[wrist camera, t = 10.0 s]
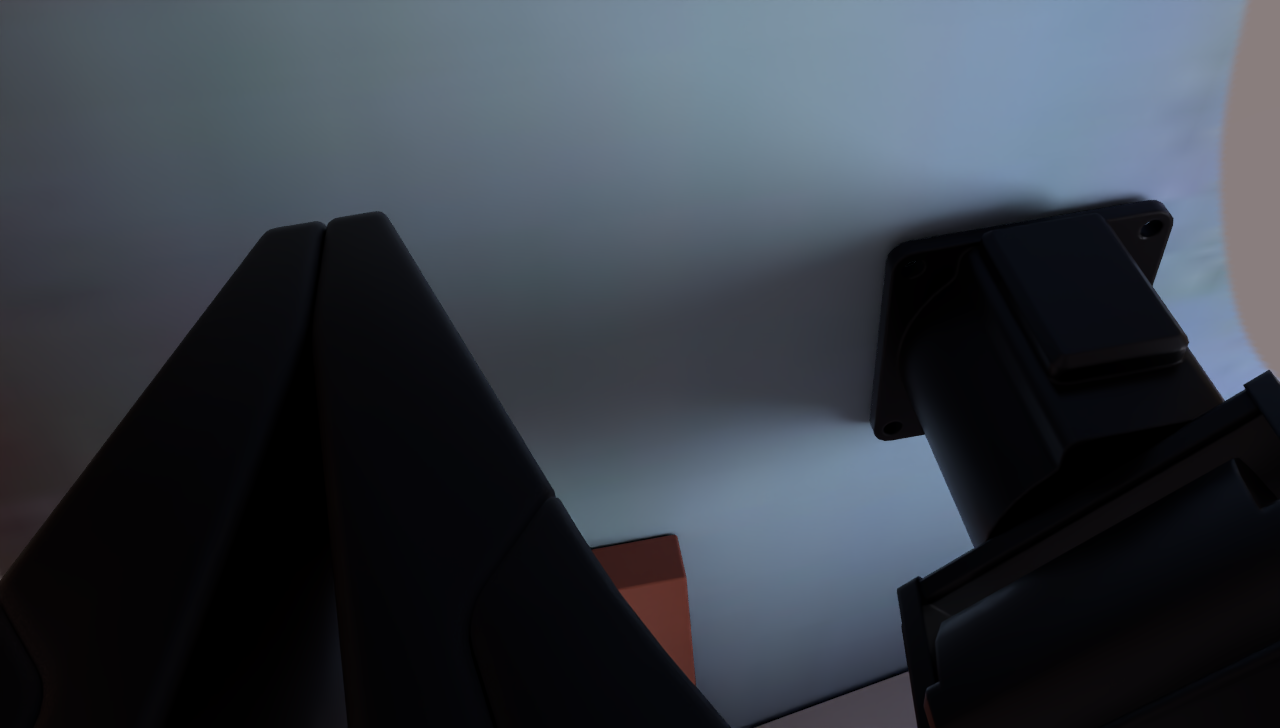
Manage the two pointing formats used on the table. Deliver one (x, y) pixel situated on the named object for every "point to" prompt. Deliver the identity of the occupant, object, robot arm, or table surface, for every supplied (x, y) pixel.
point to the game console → (859, 709)
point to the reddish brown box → (655, 591)
